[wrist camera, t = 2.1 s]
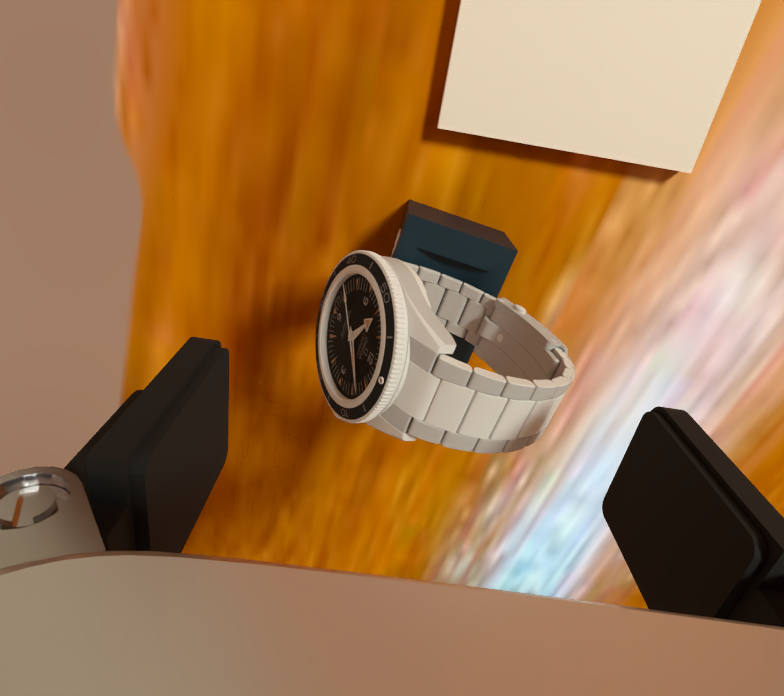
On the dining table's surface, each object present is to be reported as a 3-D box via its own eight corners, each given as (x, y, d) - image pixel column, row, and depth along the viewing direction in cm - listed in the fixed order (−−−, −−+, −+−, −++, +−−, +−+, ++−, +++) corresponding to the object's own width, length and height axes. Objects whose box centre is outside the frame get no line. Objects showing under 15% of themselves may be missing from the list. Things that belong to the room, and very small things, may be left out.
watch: (364, 184, 21) (319, 254, 11) (541, 245, 21) (651, 362, 12) (329, 303, 23) (267, 450, 13) (490, 354, 24) (545, 528, 14)
